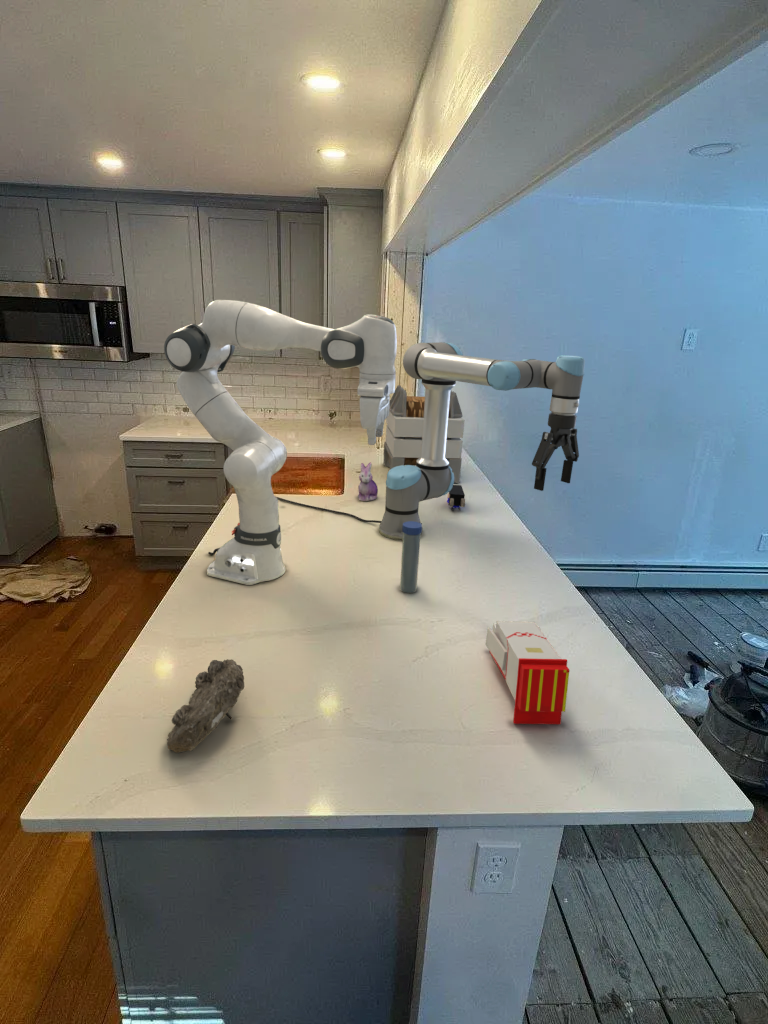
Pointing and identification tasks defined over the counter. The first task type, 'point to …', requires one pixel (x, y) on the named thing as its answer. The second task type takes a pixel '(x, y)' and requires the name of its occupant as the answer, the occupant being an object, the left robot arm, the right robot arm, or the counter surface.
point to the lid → (412, 528)
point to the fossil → (206, 705)
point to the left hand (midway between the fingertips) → (375, 440)
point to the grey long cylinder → (409, 563)
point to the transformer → (419, 432)
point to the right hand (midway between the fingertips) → (552, 485)
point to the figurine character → (456, 497)
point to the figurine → (367, 484)
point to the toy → (530, 671)
